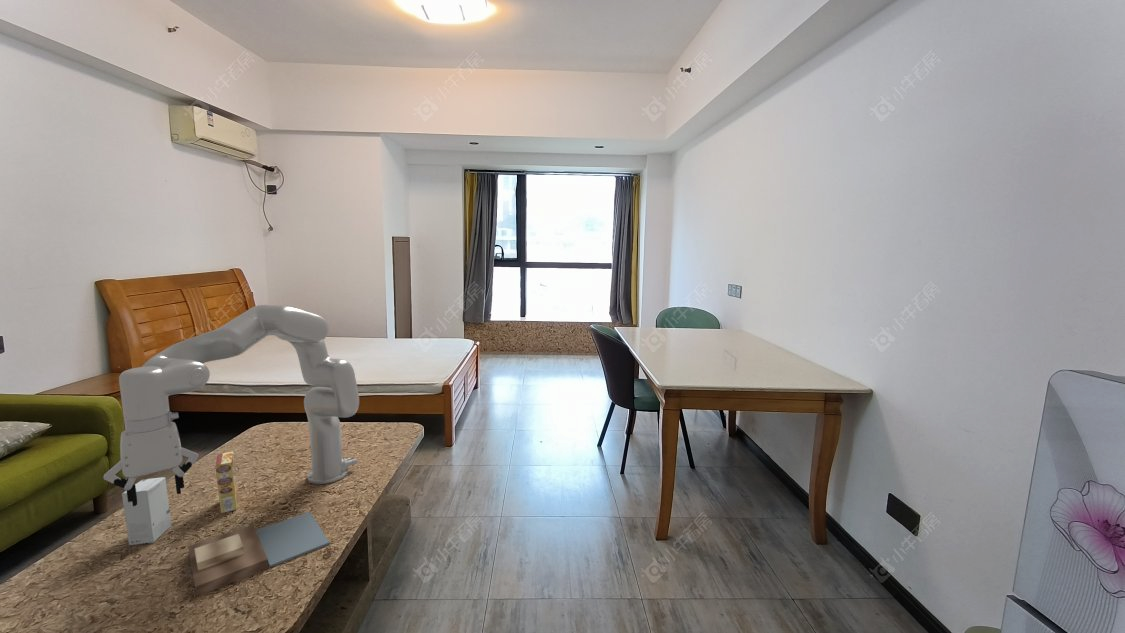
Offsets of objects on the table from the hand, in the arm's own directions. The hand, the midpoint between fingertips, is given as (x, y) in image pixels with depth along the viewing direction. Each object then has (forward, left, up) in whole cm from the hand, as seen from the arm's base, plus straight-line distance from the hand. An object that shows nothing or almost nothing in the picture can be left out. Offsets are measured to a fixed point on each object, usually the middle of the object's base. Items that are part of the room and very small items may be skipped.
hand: (157, 496), depth 104 cm
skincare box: (+2, -27, -22) cm, 35 cm away
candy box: (-16, -31, -22) cm, 41 cm away
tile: (-10, 0, -19) cm, 22 cm away
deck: (-12, 0, -22) cm, 25 cm away
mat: (-26, 0, -22) cm, 34 cm away
